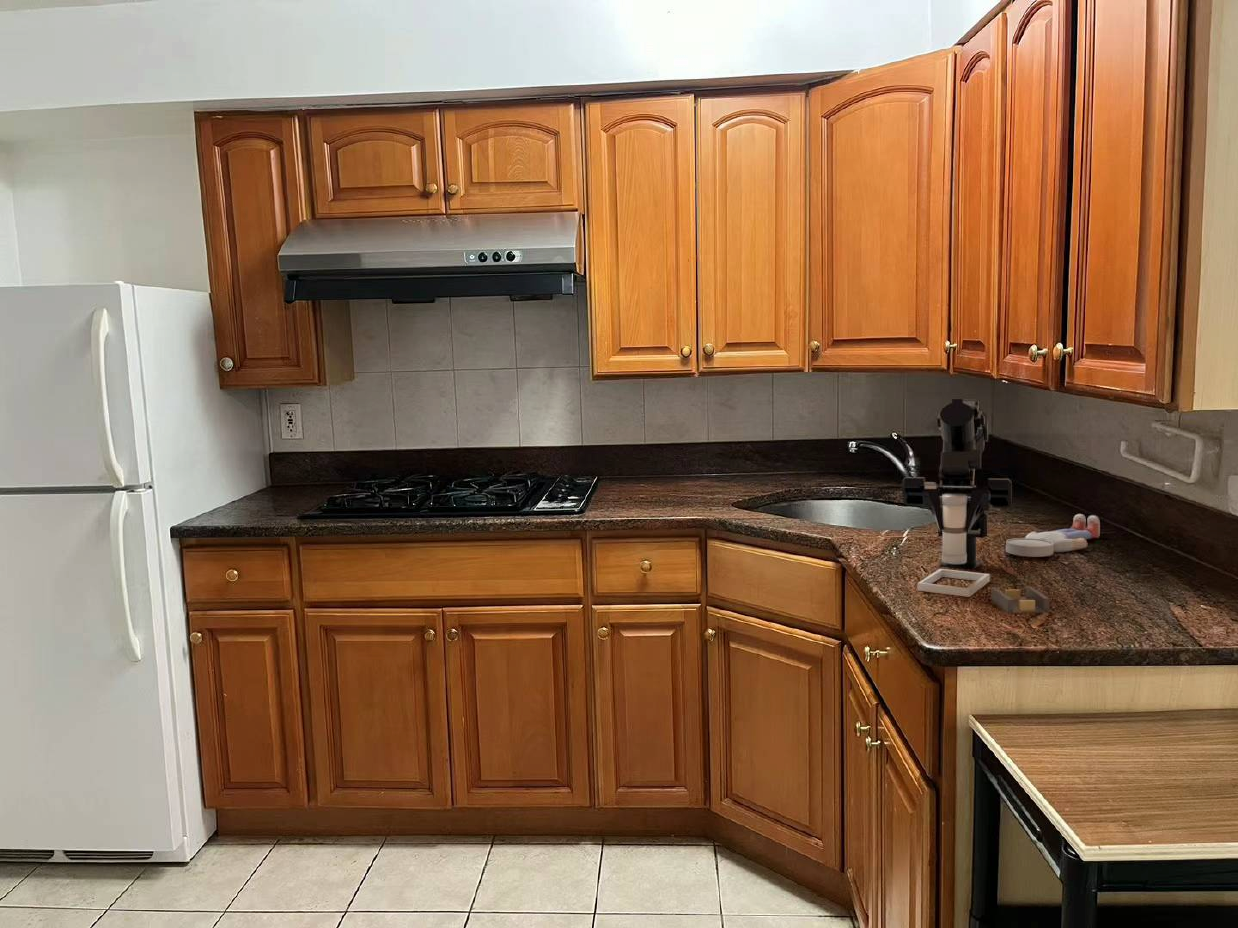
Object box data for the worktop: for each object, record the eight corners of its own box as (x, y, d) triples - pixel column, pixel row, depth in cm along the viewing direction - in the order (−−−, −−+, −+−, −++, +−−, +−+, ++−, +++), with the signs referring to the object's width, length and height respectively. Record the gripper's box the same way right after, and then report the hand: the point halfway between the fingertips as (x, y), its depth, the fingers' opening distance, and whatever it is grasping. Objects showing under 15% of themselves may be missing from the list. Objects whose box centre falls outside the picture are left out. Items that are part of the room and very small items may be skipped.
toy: (1058, 511, 219) (989, 528, 200) (1116, 517, 209) (1049, 536, 190) (1058, 536, 219) (988, 555, 200) (1115, 543, 210) (1048, 564, 191)
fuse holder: (988, 604, 165) (989, 586, 164) (1030, 603, 164) (1030, 585, 164) (1007, 619, 156) (1007, 600, 155) (1051, 618, 155) (1052, 599, 155)
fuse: (952, 557, 176) (952, 492, 174) (971, 561, 172) (972, 495, 171) (936, 561, 173) (937, 495, 172) (956, 565, 170) (956, 498, 168)
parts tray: (940, 581, 181) (940, 568, 181) (989, 587, 176) (989, 574, 175) (917, 596, 171) (917, 583, 171) (969, 603, 166) (969, 589, 166)
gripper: (902, 433, 177) (895, 503, 168) (1012, 433, 170) (1010, 506, 161) (907, 469, 185) (900, 538, 177) (1012, 471, 178) (1010, 542, 169)
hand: (953, 531), depth 171 cm, fingers closed on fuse, 4 cm apart
